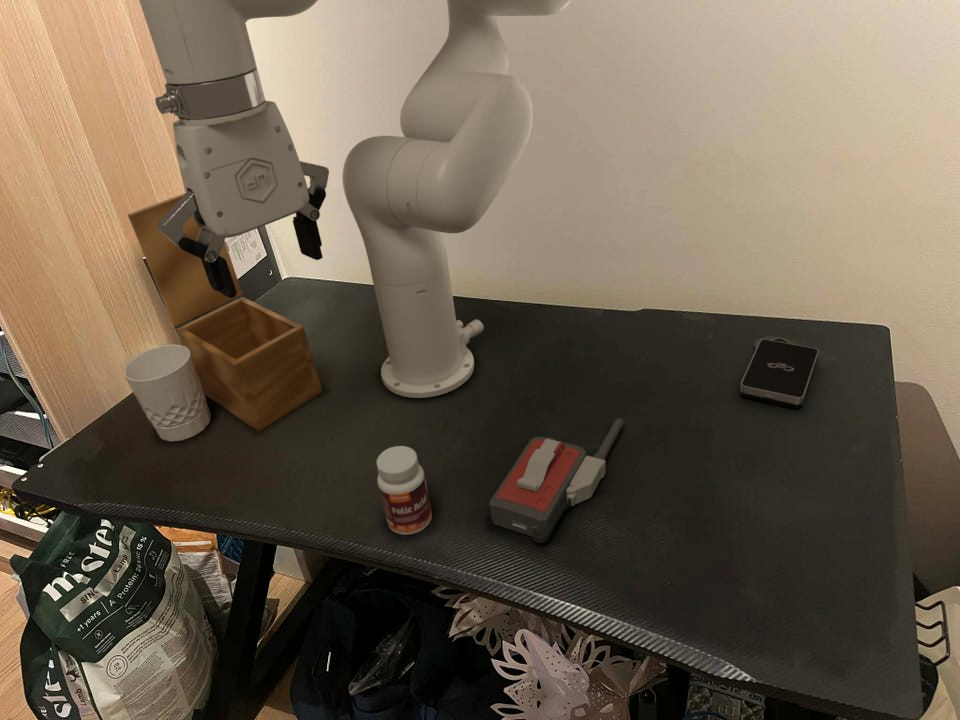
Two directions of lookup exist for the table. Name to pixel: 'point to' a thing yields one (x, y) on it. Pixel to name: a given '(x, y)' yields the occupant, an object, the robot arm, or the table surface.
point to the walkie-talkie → (548, 484)
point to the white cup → (169, 391)
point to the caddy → (252, 361)
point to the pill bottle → (403, 490)
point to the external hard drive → (779, 373)
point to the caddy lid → (178, 265)
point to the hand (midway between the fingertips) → (271, 274)
